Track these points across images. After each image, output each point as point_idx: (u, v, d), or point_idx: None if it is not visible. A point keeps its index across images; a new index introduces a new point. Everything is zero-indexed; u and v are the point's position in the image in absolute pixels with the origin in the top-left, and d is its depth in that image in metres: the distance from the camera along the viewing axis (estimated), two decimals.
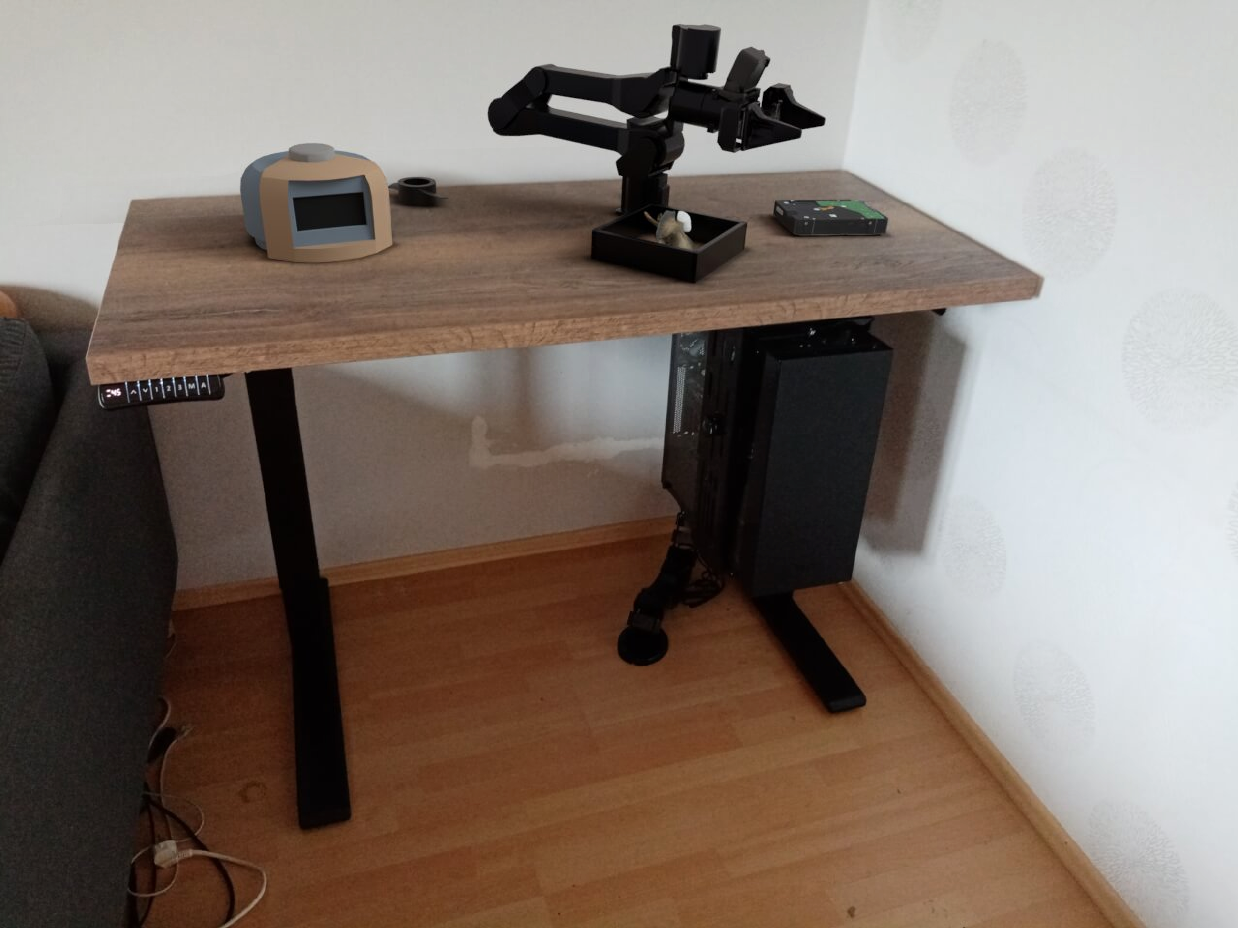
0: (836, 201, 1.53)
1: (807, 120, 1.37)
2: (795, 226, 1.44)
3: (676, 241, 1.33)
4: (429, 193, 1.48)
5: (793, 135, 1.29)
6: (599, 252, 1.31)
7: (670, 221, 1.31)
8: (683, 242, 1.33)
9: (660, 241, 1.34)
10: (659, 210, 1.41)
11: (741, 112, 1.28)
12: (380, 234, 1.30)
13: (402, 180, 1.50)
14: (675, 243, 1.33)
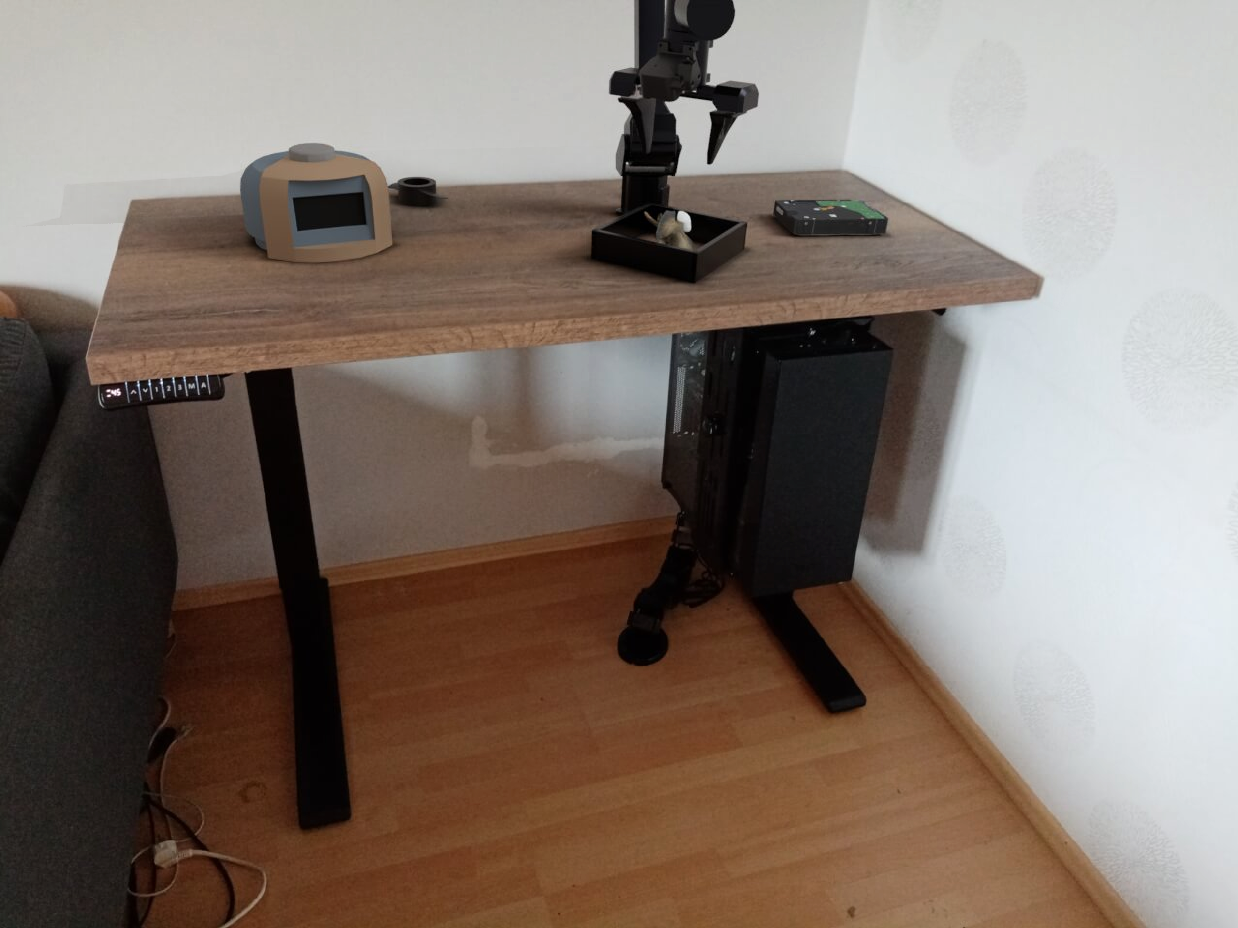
0: (836, 201, 1.53)
1: None
2: (795, 226, 1.44)
3: (676, 241, 1.33)
4: (429, 193, 1.48)
5: None
6: (599, 252, 1.31)
7: (670, 221, 1.31)
8: (683, 242, 1.33)
9: (660, 241, 1.34)
10: (659, 210, 1.41)
11: None
12: (380, 234, 1.30)
13: (402, 180, 1.50)
14: (675, 243, 1.33)
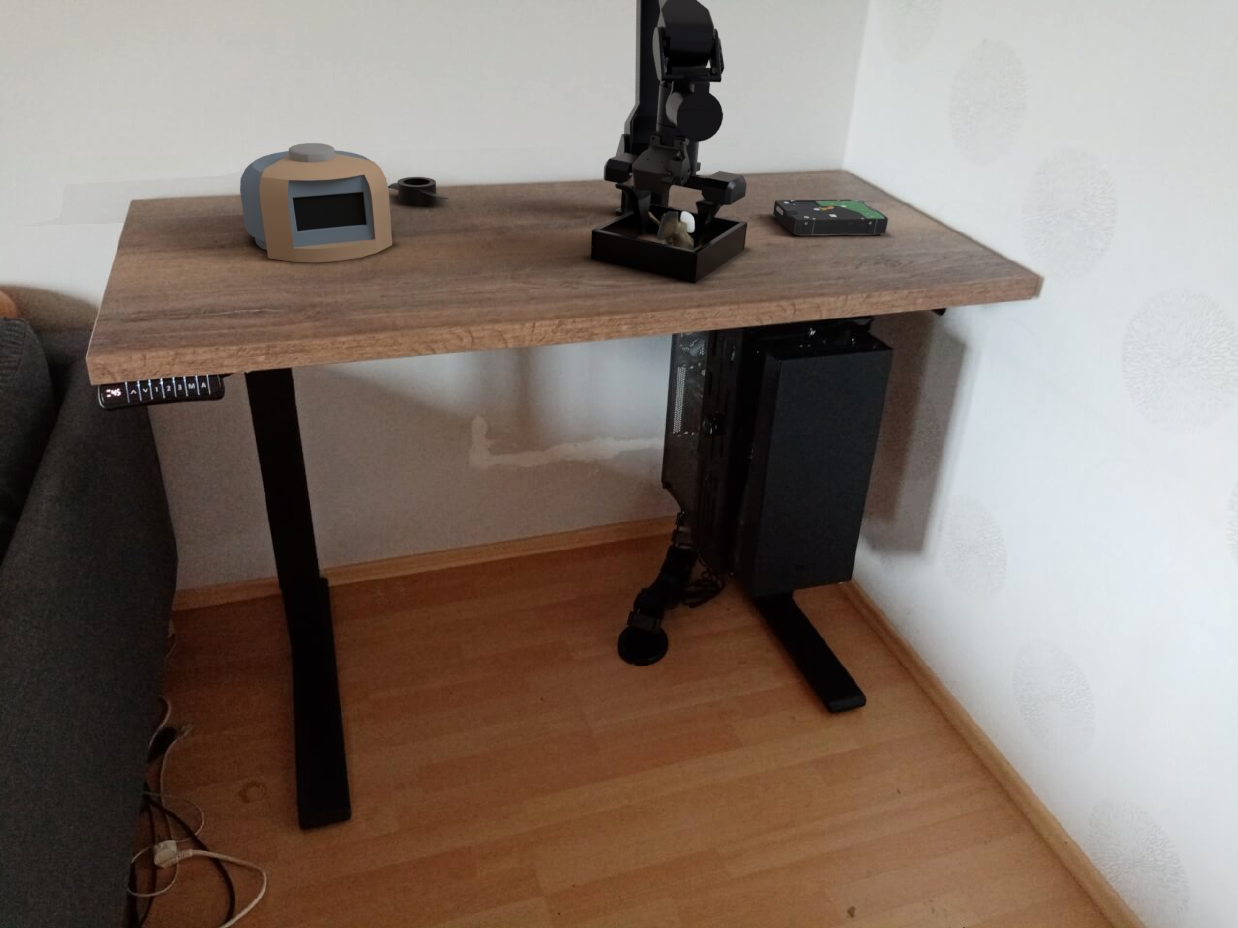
0: (836, 201, 1.53)
1: None
2: (795, 226, 1.44)
3: (678, 241, 1.33)
4: (429, 193, 1.48)
5: None
6: (599, 252, 1.31)
7: (672, 221, 1.31)
8: (685, 243, 1.33)
9: (663, 241, 1.34)
10: (659, 210, 1.41)
11: None
12: (380, 234, 1.30)
13: (402, 180, 1.50)
14: (677, 243, 1.33)
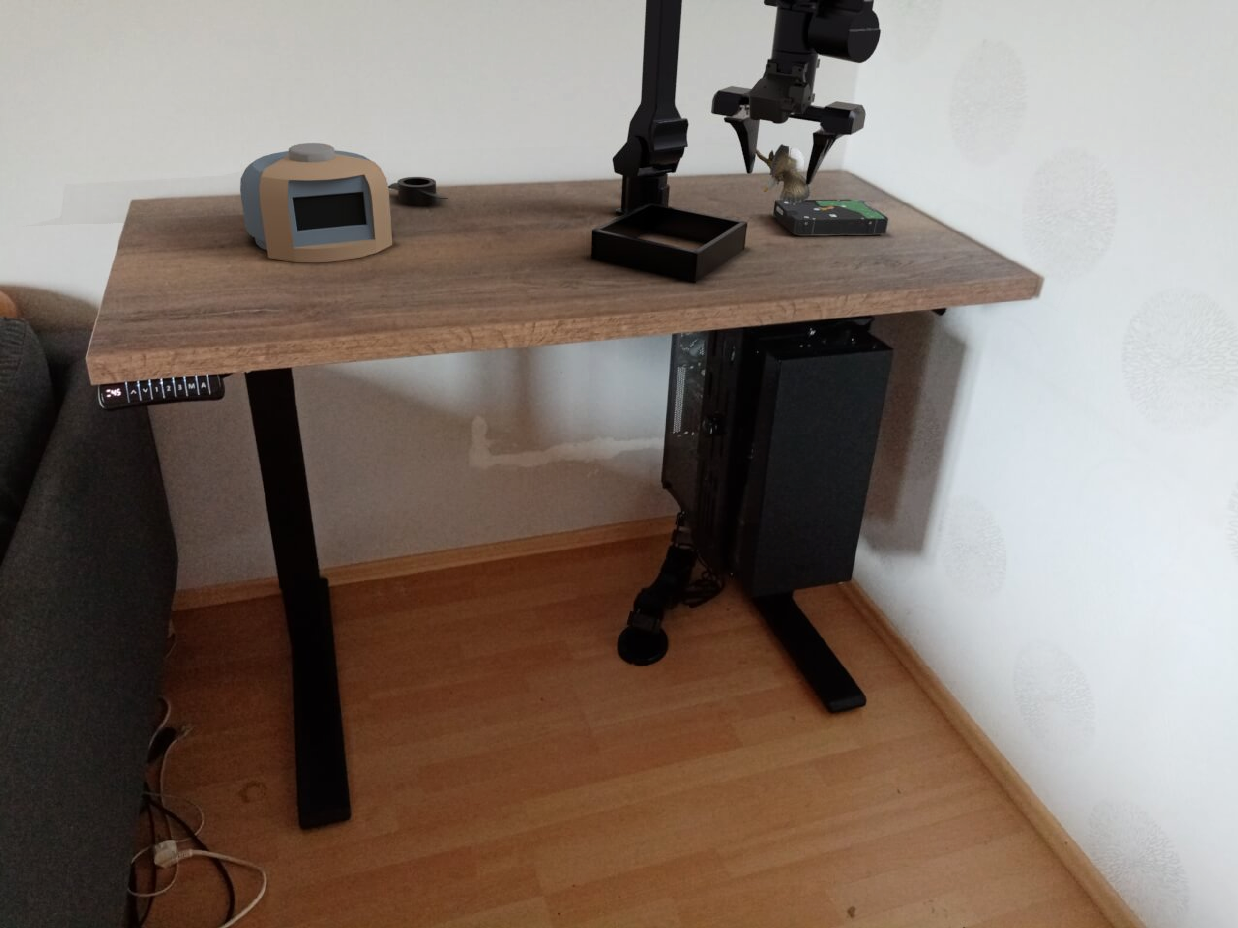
0: (836, 201, 1.53)
1: None
2: (795, 226, 1.44)
3: (789, 178, 1.26)
4: (429, 193, 1.48)
5: None
6: (599, 252, 1.31)
7: (784, 156, 1.24)
8: (797, 179, 1.26)
9: (772, 179, 1.28)
10: (659, 210, 1.41)
11: None
12: (380, 234, 1.30)
13: (402, 180, 1.50)
14: (788, 180, 1.26)
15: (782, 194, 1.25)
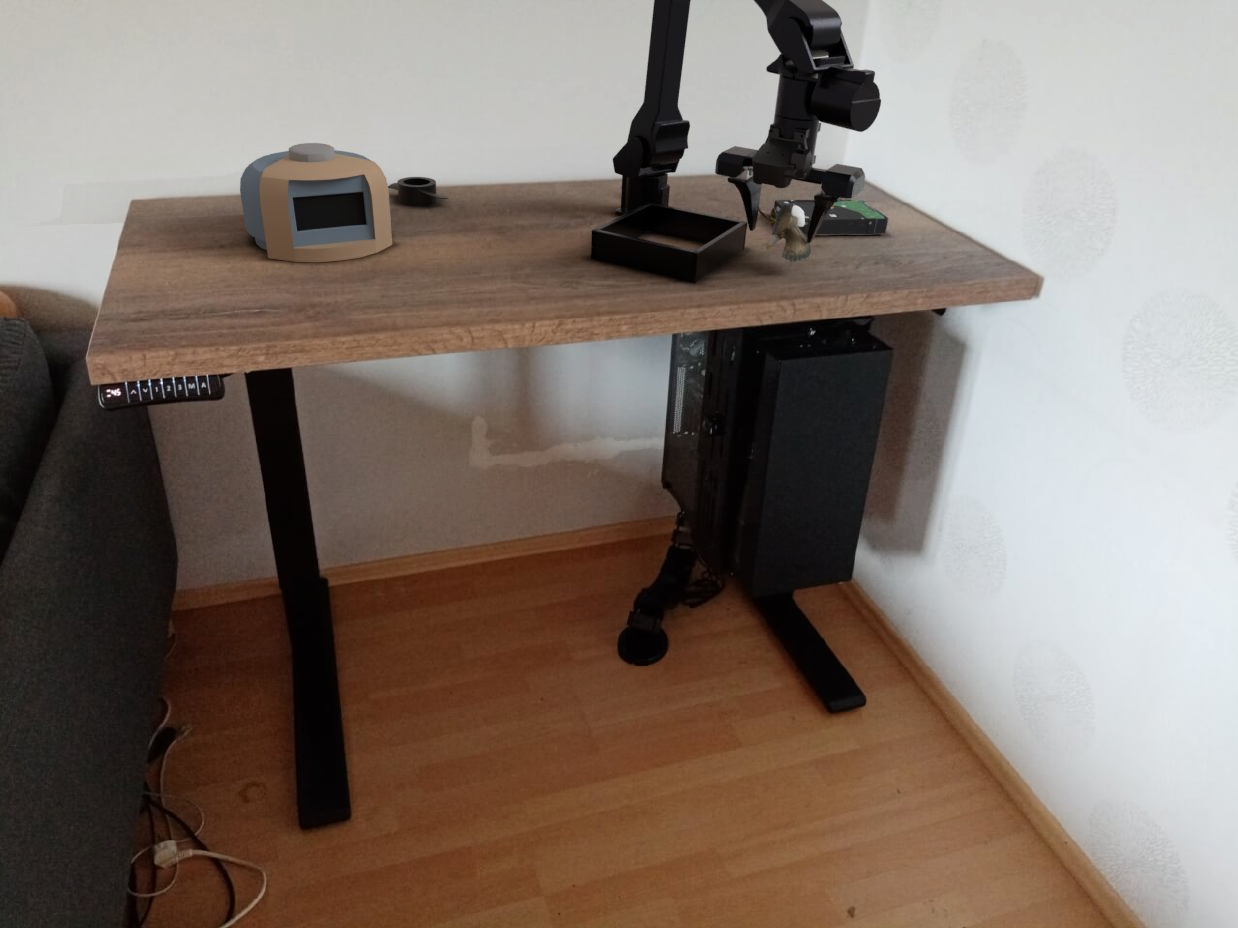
0: None
1: None
2: None
3: (791, 236, 1.30)
4: (429, 193, 1.48)
5: None
6: (599, 252, 1.31)
7: (786, 216, 1.28)
8: (798, 237, 1.30)
9: (774, 236, 1.31)
10: (659, 210, 1.41)
11: None
12: (380, 234, 1.30)
13: (402, 180, 1.50)
14: (790, 238, 1.30)
15: (784, 252, 1.29)
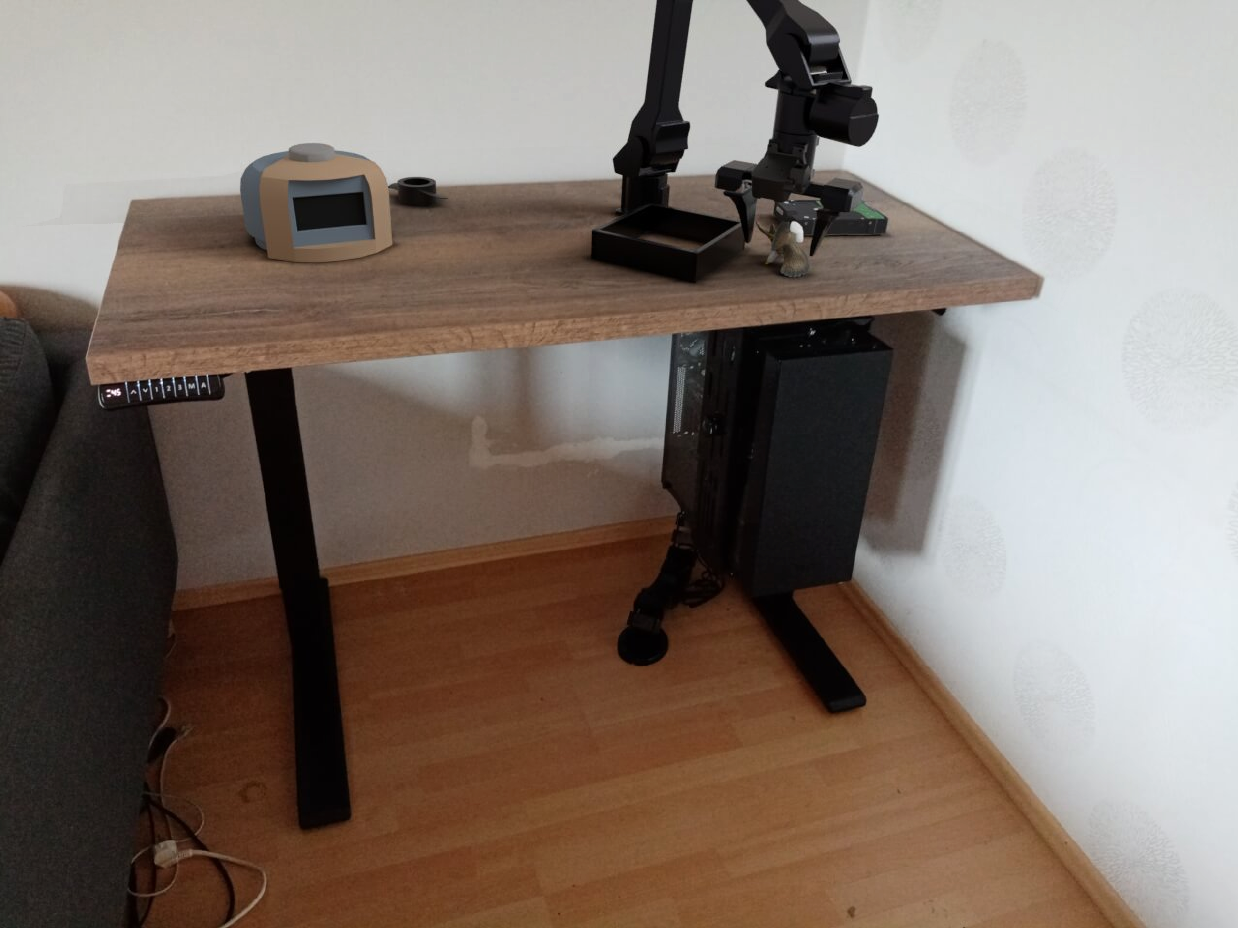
0: None
1: None
2: None
3: (789, 252, 1.31)
4: (429, 193, 1.48)
5: None
6: (599, 252, 1.31)
7: (785, 232, 1.29)
8: (797, 253, 1.31)
9: (772, 252, 1.33)
10: (659, 210, 1.41)
11: None
12: (380, 234, 1.30)
13: (402, 180, 1.50)
14: (789, 254, 1.31)
15: (782, 268, 1.30)
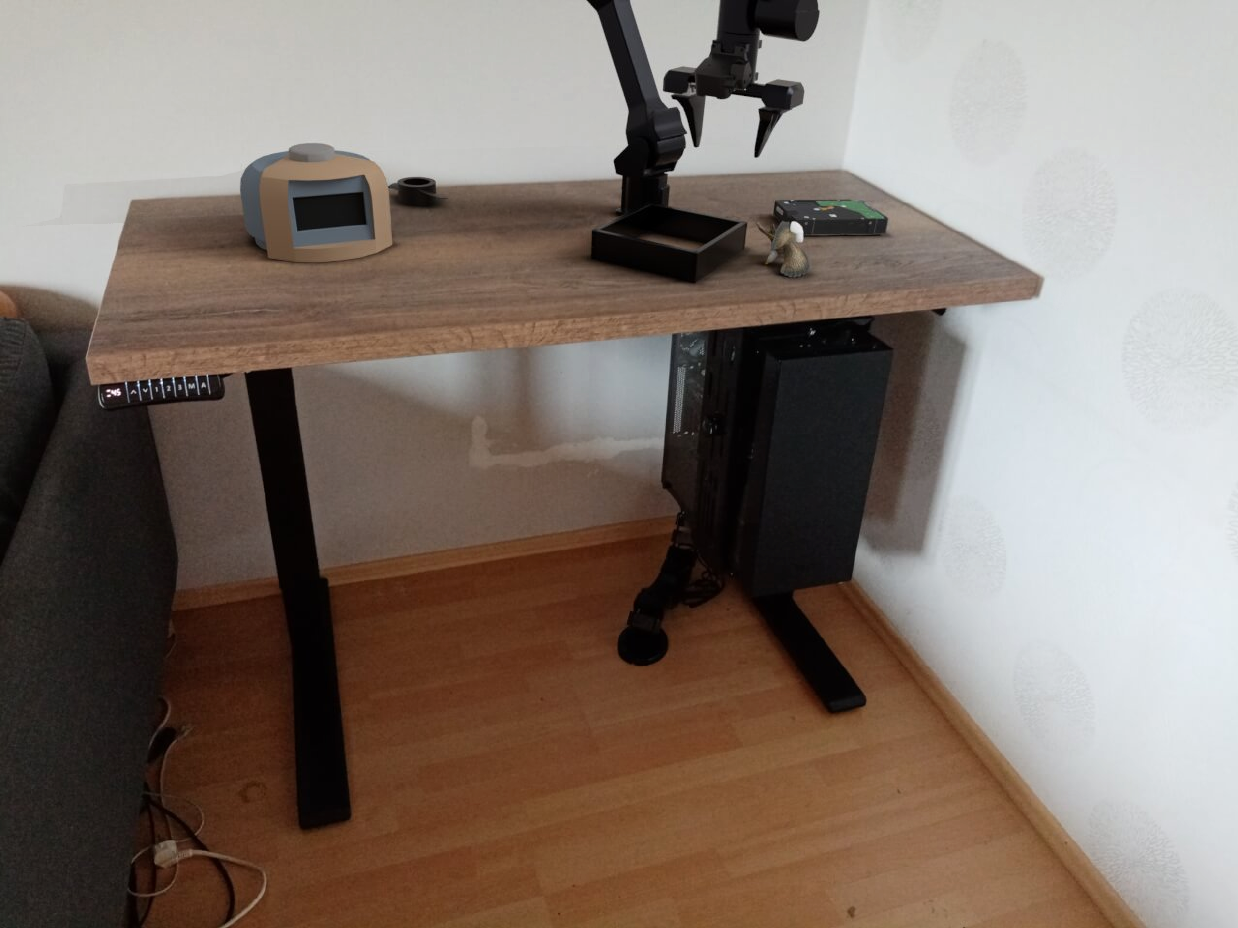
0: (836, 201, 1.53)
1: None
2: None
3: (789, 252, 1.31)
4: (429, 193, 1.48)
5: None
6: (599, 252, 1.31)
7: (785, 232, 1.29)
8: (797, 253, 1.31)
9: (772, 252, 1.33)
10: (659, 210, 1.41)
11: None
12: (380, 234, 1.30)
13: (402, 180, 1.50)
14: (789, 254, 1.31)
15: (782, 268, 1.30)
